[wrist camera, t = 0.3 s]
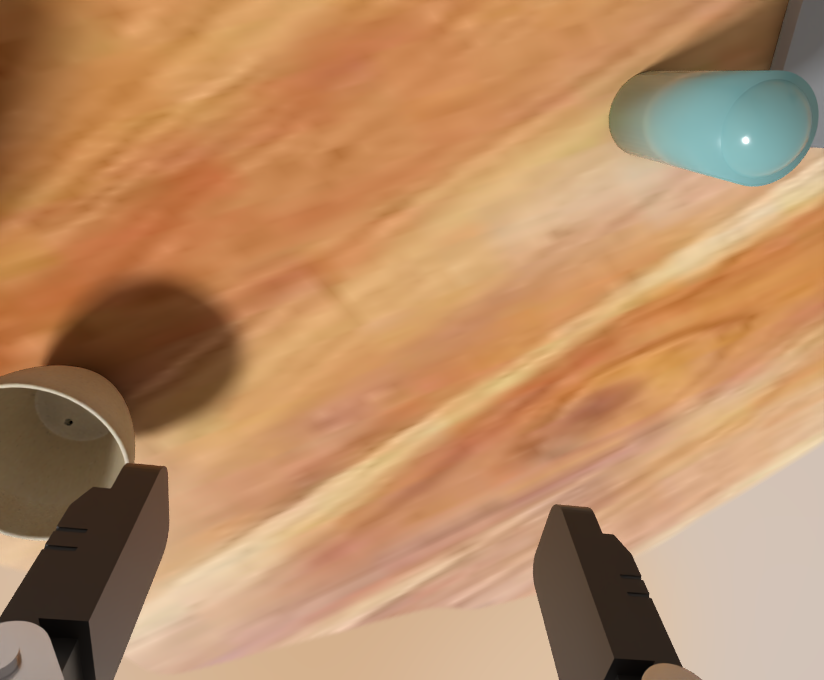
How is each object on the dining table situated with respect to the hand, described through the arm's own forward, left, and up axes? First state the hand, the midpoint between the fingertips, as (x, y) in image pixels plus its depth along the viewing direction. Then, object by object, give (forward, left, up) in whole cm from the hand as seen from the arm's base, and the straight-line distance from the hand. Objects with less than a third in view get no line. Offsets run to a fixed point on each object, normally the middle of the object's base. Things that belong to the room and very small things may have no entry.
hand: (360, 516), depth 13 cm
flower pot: (+12, -16, -27) cm, 34 cm away
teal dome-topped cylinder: (-8, +18, -27) cm, 33 cm away
